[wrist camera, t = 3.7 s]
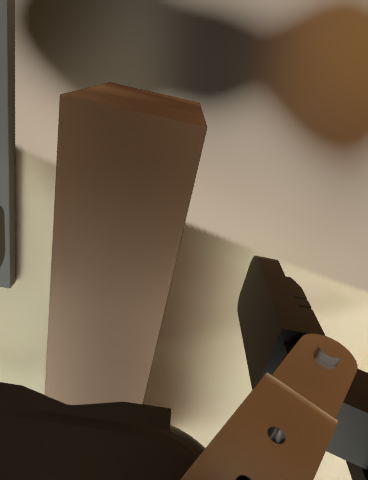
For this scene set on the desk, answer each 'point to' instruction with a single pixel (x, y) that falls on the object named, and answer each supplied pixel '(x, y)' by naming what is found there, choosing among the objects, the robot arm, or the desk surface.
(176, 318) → the desk surface
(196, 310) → the desk surface
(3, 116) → the mat
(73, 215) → the stick
